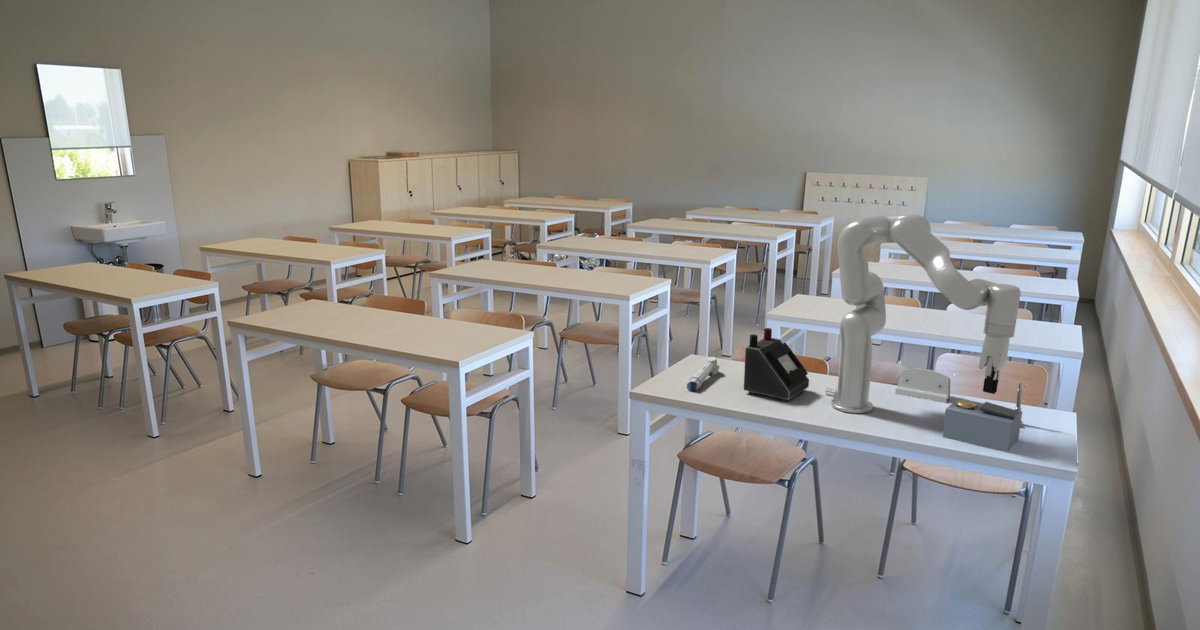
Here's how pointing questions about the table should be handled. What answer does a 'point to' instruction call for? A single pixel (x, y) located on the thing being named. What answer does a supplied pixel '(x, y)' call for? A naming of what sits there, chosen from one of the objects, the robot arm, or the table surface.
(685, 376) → the table surface
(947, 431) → the grey rectangular box
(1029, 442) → the table surface
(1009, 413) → the grey flat rectangular plate
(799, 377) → the voltmeter
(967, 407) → the brass pin
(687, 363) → the table surface
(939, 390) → the hinge
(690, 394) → the table surface
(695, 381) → the grey blue-ended cylinder
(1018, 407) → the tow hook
